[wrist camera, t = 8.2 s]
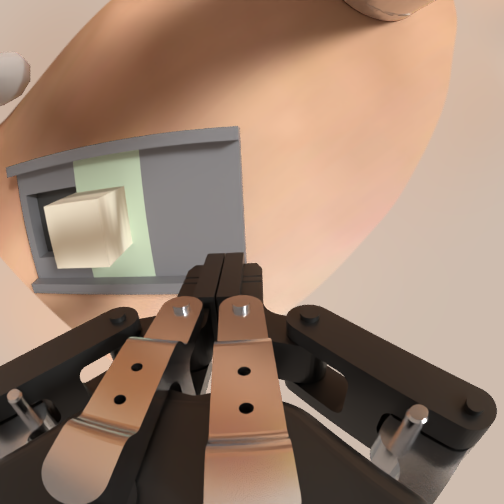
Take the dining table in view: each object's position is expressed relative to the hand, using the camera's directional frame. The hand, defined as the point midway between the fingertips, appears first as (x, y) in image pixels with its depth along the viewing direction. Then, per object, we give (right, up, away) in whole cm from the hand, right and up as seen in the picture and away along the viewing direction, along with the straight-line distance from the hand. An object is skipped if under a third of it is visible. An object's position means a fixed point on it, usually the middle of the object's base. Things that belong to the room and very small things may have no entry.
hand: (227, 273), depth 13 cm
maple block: (-12, +4, +11) cm, 17 cm away
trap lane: (-11, +5, +13) cm, 17 cm away
